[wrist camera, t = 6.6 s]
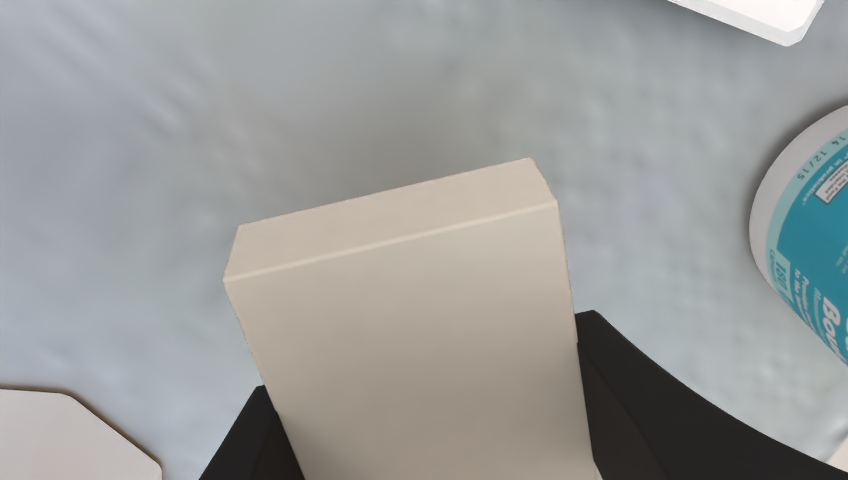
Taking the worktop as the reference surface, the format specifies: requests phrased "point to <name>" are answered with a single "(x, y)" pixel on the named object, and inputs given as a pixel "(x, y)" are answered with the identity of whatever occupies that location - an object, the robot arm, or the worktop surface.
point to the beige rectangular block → (420, 331)
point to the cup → (64, 442)
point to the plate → (761, 16)
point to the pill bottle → (808, 228)
